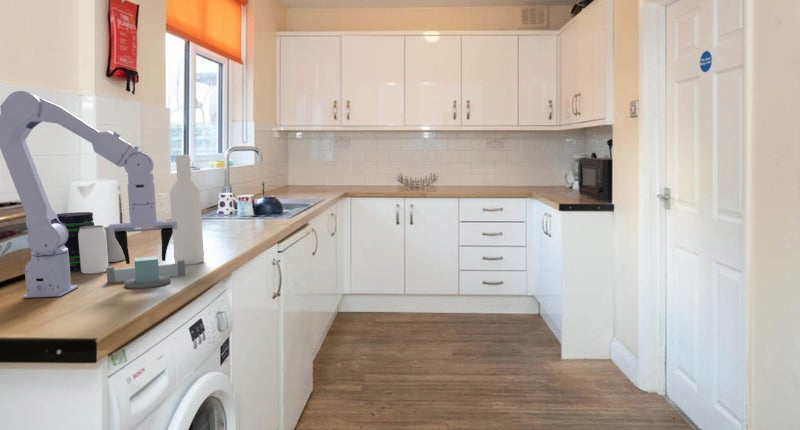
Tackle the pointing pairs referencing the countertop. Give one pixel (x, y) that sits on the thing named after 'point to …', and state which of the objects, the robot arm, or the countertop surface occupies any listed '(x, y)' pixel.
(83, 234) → the can
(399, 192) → the countertop surface
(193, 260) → the bottle
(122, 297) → the countertop surface
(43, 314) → the countertop surface
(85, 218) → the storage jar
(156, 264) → the block
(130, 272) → the acrylic wall
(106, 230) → the flask
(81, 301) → the countertop surface
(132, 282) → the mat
